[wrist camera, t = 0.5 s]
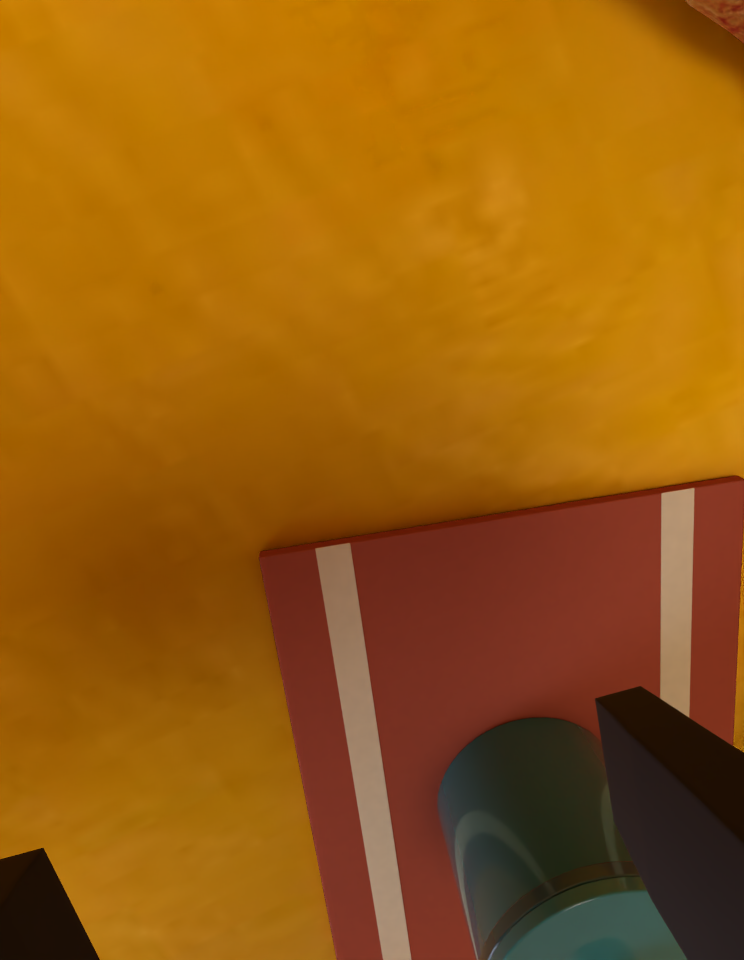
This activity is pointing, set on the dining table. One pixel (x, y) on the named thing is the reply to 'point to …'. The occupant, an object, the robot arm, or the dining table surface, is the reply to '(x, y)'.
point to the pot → (544, 850)
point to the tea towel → (483, 671)
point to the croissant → (723, 14)
